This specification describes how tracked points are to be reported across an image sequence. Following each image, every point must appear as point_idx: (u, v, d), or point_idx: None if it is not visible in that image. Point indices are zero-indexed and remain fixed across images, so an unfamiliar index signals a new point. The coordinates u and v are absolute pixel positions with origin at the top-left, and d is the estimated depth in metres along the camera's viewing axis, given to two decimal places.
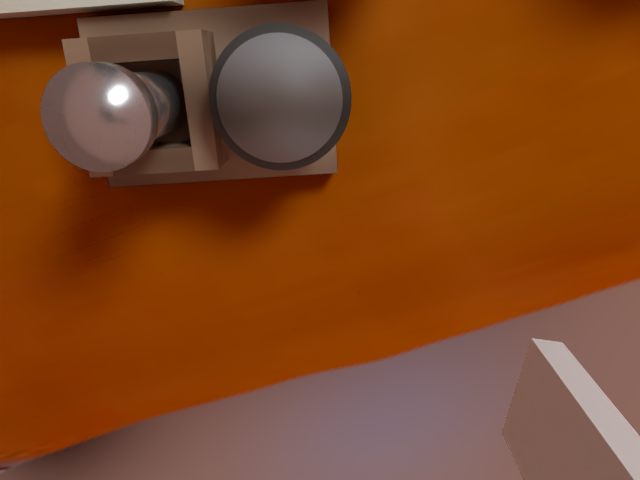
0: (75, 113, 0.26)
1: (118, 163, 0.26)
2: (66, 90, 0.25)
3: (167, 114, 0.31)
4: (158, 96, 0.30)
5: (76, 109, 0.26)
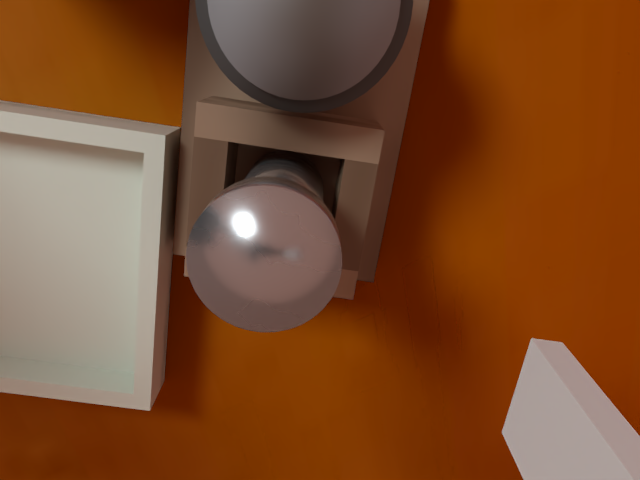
0: (252, 286, 0.18)
1: (333, 252, 0.18)
2: (219, 286, 0.18)
3: (292, 174, 0.22)
4: (264, 177, 0.21)
5: (246, 282, 0.18)
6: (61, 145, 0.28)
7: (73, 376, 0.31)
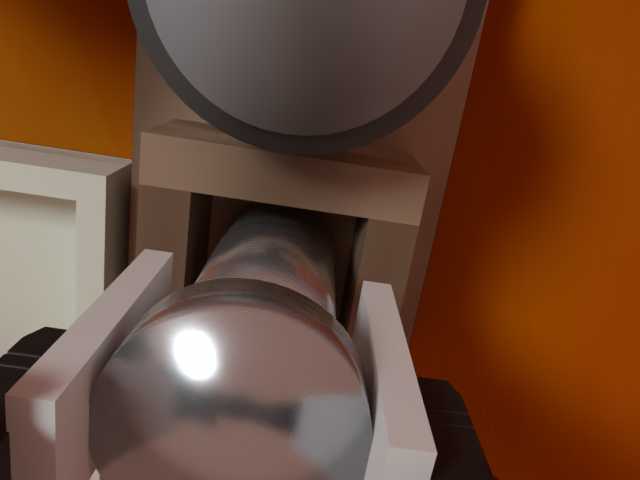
0: (209, 479, 0.10)
1: (356, 425, 0.10)
2: (150, 479, 0.10)
3: (288, 248, 0.14)
4: (241, 257, 0.13)
5: (199, 473, 0.10)
6: None
7: None
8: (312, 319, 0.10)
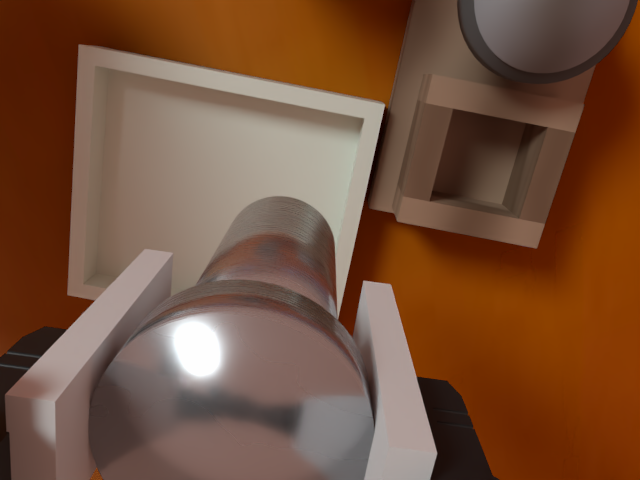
0: None
1: (359, 427, 0.10)
2: None
3: (289, 250, 0.14)
4: (243, 259, 0.13)
5: (201, 475, 0.10)
6: (284, 111, 0.34)
7: None
8: (314, 321, 0.10)
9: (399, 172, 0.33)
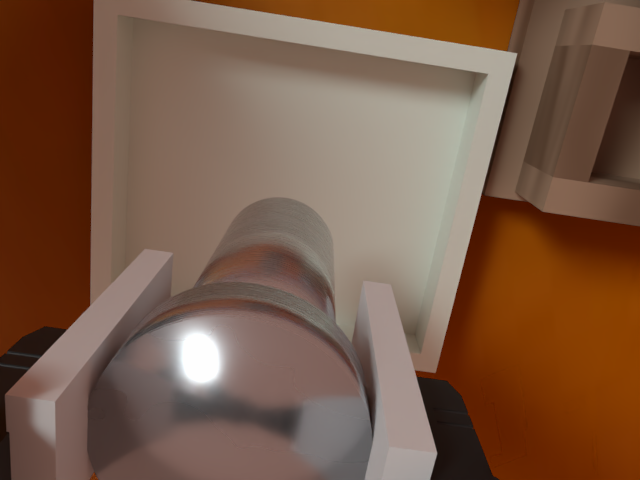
0: None
1: (356, 431, 0.10)
2: None
3: (287, 251, 0.14)
4: (240, 261, 0.13)
5: (198, 478, 0.10)
6: (371, 71, 0.25)
7: (348, 335, 0.28)
8: (312, 324, 0.10)
9: (527, 146, 0.25)
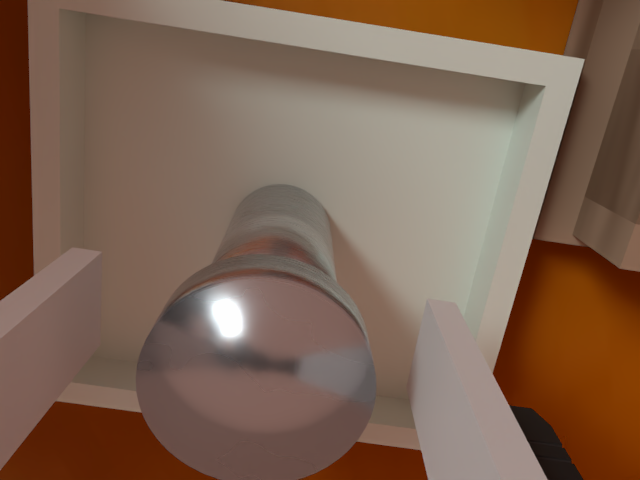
0: (239, 423, 0.12)
1: (363, 374, 0.12)
2: (189, 425, 0.12)
3: (294, 231, 0.16)
4: (255, 239, 0.15)
5: (230, 418, 0.12)
6: (390, 82, 0.20)
7: None
8: (324, 287, 0.12)
9: (590, 177, 0.20)
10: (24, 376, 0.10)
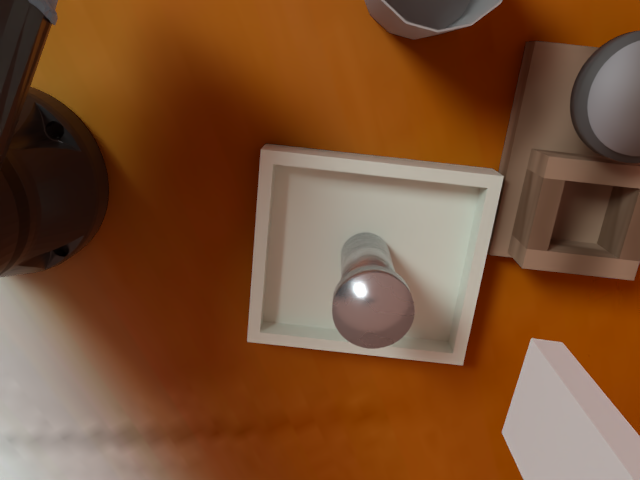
0: (366, 324, 0.34)
1: (409, 305, 0.34)
2: (349, 325, 0.34)
3: (378, 255, 0.38)
4: (363, 259, 0.37)
5: (363, 322, 0.34)
6: (417, 184, 0.42)
7: (406, 343, 0.45)
8: (395, 276, 0.34)
9: (513, 225, 0.42)
10: None
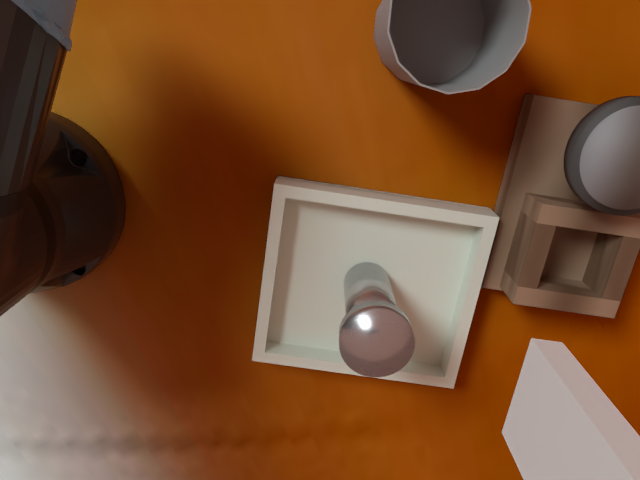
0: (370, 355, 0.37)
1: (410, 339, 0.37)
2: (354, 355, 0.37)
3: (381, 288, 0.41)
4: (368, 292, 0.40)
5: (367, 353, 0.37)
6: (418, 219, 0.45)
7: None
8: (398, 311, 0.37)
9: (506, 261, 0.45)
10: None
